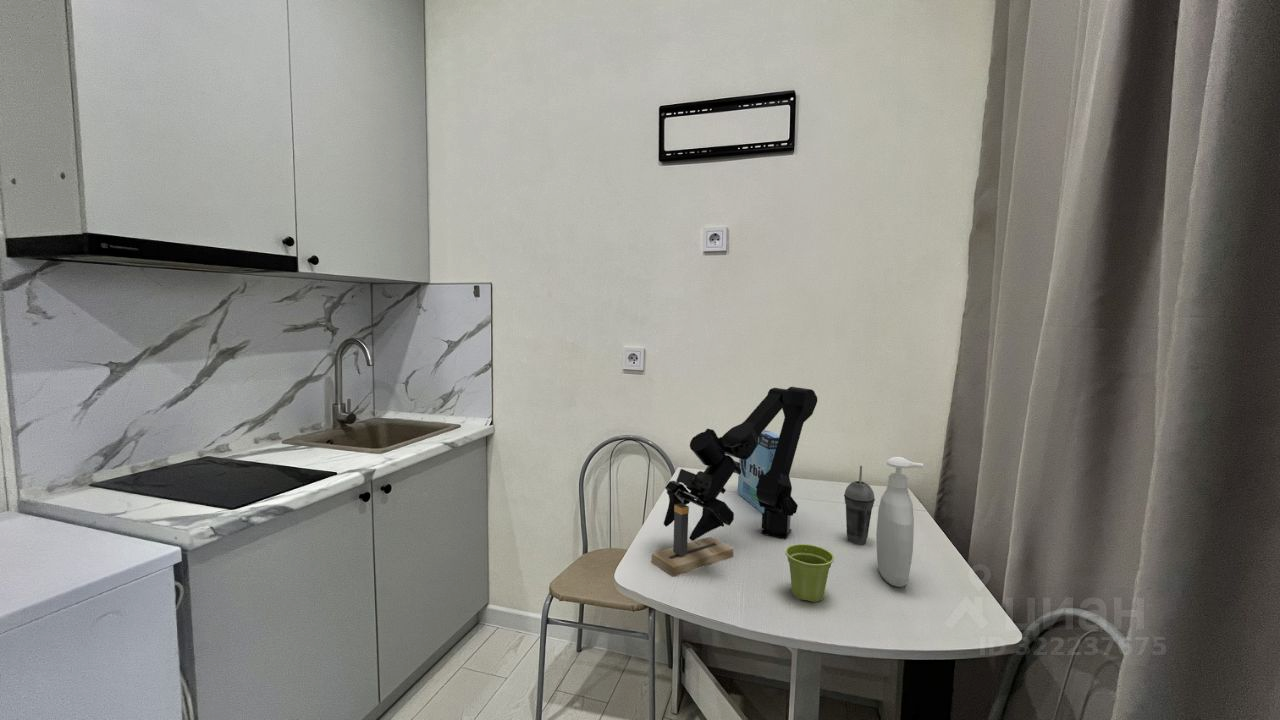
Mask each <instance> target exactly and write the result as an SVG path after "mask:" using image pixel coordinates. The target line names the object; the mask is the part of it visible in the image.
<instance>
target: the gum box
mask: <svg viewBox="0 0 1280 720" xmlns="http://www.w3.org/2000/svg"><path fill="white" fill-rule="evenodd" d="M779 436H780V434H777V433H774V432H772V431H770V430H768V429H766V428H765V429H764V430H763V432H762V433H761V434H760V436H759V437H758V445H757V447H756V449H755V450H754V452H753V453H752V455H751V456H750V457H749V458H748V459H739V458H738V459H739V460H738V462H739V463H740V468H741V474H738V477H737V478H738V481H737V493H739V495H740V496H741V497H742V498H743V499H744V498H745V499H744V500H746V501H747V502H748V503H749V502H750V503H749V504H751V505H752V506H753V507H754V508H755V507H756V508H755V509H756V510H758V511H759V512H760V513H761V512H762V513H761V514H763V513H764V509H765V508H764V507H760V506H759V502H758V497H757V496H756V491H757V489H756V486H757V484H758V481H759V476H760V475H761V474H764V475H765V474H766V473H767V472H768V471H769V470H770V468H771V464H772V461H773V457H774V454H775V450H776V447H777V443H778V440H779Z"/></svg>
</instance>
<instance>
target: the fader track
mask: <svg viewBox="0 0 1280 720" xmlns="http://www.w3.org/2000/svg"><path fill="white" fill-rule="evenodd" d="M733 557H734V547H731V546H730V545H728V544H726V543H723V542H722V541H720V540H718V539H716V538H714V537H712V536H708V537H703V538H700V539H695V540H693V541H689V542H687V554H685V555H682V556H679V555H678V554H676V553H674V552H673V547H670V548H666V549H663V550H659V551H656V552H653V553H651V563H652V564H654V565H655V566H657V567H658V568H660V570H661V569H662V570H663V571H664V572H666V573H667V574H669V575H670V576H672V577H676V576H678V575H679V576H680V575H682V574H686V573H688V571H689V572H692V571H694V569H695V570H697V568H698V569H701V568H703V566H704V567H707V566H709V565H712V563H713V564H715V563H719V562H721V560H722V561H724V560H727V559H730V558H733ZM718 561H719V562H718ZM706 565H707V566H706ZM700 567H701V568H700ZM691 570H692V571H691Z"/></svg>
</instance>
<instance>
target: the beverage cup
mask: <svg viewBox="0 0 1280 720" xmlns="http://www.w3.org/2000/svg"><path fill="white" fill-rule="evenodd" d="M862 473H863V465H859V475H858V477H859V479H858V480H855V481H853V482H850V483H849V484H848V486H846V489H845V491H844V494H843V497H844V504H845V518H846V519H845V523H846V524H845V525H846V539H847V542H848V543H850V544H852V545H855V546H856V545H857V546H864V545H867V539H868V538H869V537H868V535H869V531H870V523H871V517H872V511H873V510H872V509H873V507H874V504H875V501H876V498H875V493H874V491H873V488H872V487H871V486H870V485H869V484H868V483H866V482H864V481H862V480H863V479H862V476H863V474H862Z"/></svg>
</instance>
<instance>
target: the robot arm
mask: <svg viewBox="0 0 1280 720" xmlns="http://www.w3.org/2000/svg"><path fill="white" fill-rule="evenodd" d="M817 403H818V396H817V395H816V392H815V390H813V389H811V388H805V387H804V388H803V387H797V386H789V387H788V388H780V387H772V388H770V389H769V390H768V392H767V395H766V396H765V397H764V398H763V399H762V400H761V402H760V403H759V404H758V405H757V406H756V407H755V409H753V411H752V412H751V413H750V414H749V415H748V417H746V418H745V420H744V421H743V422H741V423H739V424H737V425H735V426H733V427H731V428H730V429H729V430H727V431H726V432H725V433H724V434H723V435H722V436H720V437H718V435H717V433H716V431H715V430H714V429H710V428H706V429H705V430H704V431H702V432H700V433H698V434H696V435H695V436H693V437H692V439H691V440H690V442H689V448H690V449H691V451H692V452H693V454H694V455H695V456H696V457H697V458H698V460H699V461H700V462H701V463H702V464H703V465H704V466H707V467H706V468H705V469H704V471H701V470H699V471H697V473H696V474H695V473H693V472H691V471H689V470H685V469H683V468H680V469H679V473H678V475H677V478H676V480H670V481H668V482H667V484H666V486H665V487H664V489H665V490H666V494H667V495H668V500H669V501H668V506H667V510H666V514H665V517H664V520H663V526H664V527H668V526H670V525H671V524H672V523H674V505H676V504H680V503H682V504H684V505H686V506H687V505H688V504H690V503H691V504H694V505H697V506H699V507H700V508H702V514H701V517H700V519H699V520H698V522H697V523H696V525H695V527H694V528H693V530H691V533H690V535H689V536H688V537H689V540H690V541H691V542H693V541H696V540H698V539H699V538H700V537H702V536H704V535H706V534H707V533H710V532H711V531H713V530H715V529H717V528H720V527H725V525H726V526H729V527H730V526H731V524H732V522H734V520H735V519H734V518H735V513H734V512H733V510H732V509H731V508H730V506H728V504H727V503H726V502H725V501H723V500H721V499H718V496H719V495H720V494H724V495H725V493H726V491H727V490H726V488H725V486H726V485H727V483H728V481H729V480H730V478H732V476H733V474H736V475H739V474H741V468H740V463H739V461H736V460H734V459H733V457H734V458H736V459H748V458H749V457H750V456H751V455H752V453H753V452H754V450H755V449H756V447H757V445H758V437H759V436H760V434H761V433H762V432H763V430H764V429H766V428H767V427H768V426H769V424H770V423H771V422H772V421H773V420H774V419H775V417H776V416H777V415H778V414H779V413H780V411H781V410H782V412H783V415H784V419H783V423H782V427H781V429H780V432H779V440H778V443H777V447H776V450H775V454H774V457H773V461H772V464H771V468H770V470H769V471H768V472H767V473H766V474H765V475H764V474H761V475H760V476H759V481H758V484H757V486H756V489H757V491H756V496H757V497H758V502H759V506H760V507H764V508H765V509H764V513H761V529H762V530H761V531H760V532H761V533H760V534H762V535H767V536H771V537H776V538H779V539H784V540H785V539H787V538H788V537H789V535H790V534H791V532H792V528H791V517H793V516H794V514H796V513H797V510H798V507H799V505H798V503H797V502H796V500H795V499H794V498H793V497H792V490H793V485H792V482H791V478H790V474H791V469H792V466H793V462H794V459H795V455H796V451H797V448H798V445H799V442H800V441H799V440H800V438H801V433H802V430H803V427H804V424H805V422H806V421H808V419H809V418H810V417H812V415H813V414H814V411H815V409H816V406H817Z"/></svg>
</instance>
